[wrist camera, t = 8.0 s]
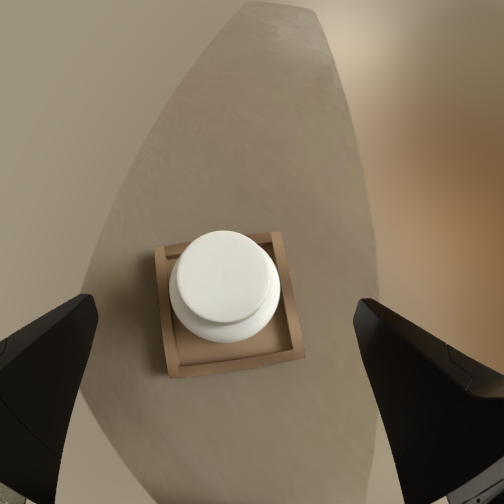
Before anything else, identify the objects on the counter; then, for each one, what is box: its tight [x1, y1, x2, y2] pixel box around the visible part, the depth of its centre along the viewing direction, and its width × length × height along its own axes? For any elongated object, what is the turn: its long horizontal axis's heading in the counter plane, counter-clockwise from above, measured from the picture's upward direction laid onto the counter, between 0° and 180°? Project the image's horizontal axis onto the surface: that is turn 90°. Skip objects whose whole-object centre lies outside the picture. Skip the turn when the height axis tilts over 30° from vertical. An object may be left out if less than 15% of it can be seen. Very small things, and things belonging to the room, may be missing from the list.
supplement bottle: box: [169, 231, 280, 343], centre depth 16 cm, size 6×6×10 cm
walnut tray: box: [155, 231, 306, 378], centre depth 21 cm, size 10×10×2 cm
